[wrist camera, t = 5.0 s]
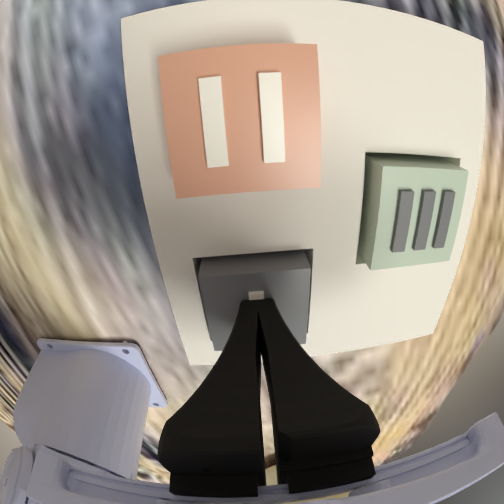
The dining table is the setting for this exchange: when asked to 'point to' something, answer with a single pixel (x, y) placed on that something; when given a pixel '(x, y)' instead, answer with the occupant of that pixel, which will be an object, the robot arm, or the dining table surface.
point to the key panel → (332, 159)
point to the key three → (409, 209)
